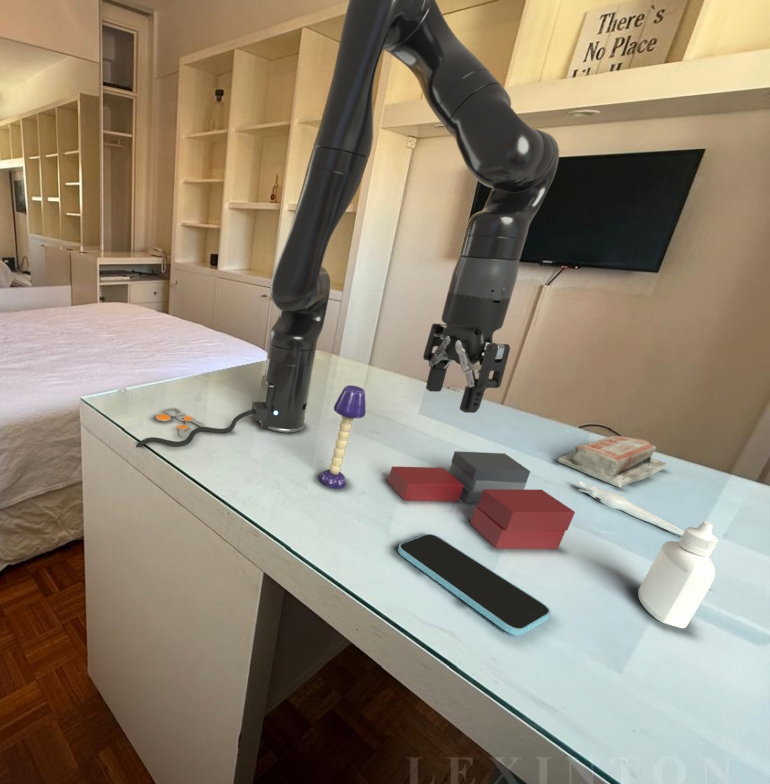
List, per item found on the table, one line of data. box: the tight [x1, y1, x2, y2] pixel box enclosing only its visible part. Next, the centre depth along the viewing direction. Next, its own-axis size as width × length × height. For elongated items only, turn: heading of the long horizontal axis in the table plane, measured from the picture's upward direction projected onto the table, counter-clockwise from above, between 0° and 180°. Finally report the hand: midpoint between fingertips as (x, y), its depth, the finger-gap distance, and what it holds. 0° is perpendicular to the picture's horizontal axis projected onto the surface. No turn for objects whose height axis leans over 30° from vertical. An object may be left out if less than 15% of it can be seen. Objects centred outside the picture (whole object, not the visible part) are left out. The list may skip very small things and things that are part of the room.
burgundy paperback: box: [387, 465, 464, 502], centre depth 73 cm, size 9×5×3 cm, turn 93°
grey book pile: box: [448, 450, 531, 504], centre depth 73 cm, size 9×6×6 cm
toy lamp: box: [318, 384, 366, 490], centre depth 72 cm, size 5×5×17 cm
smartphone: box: [397, 533, 552, 636], centre depth 54 cm, size 7×1×15 cm
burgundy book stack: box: [469, 489, 576, 550], centre depth 63 cm, size 9×6×6 cm, turn 93°
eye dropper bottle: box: [637, 520, 720, 629], centre depth 50 cm, size 4×6×12 cm
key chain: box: [155, 407, 203, 437], centre depth 93 cm, size 13×7×1 cm, turn 30°
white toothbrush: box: [577, 480, 685, 536], centre depth 71 cm, size 15×3×2 cm, turn 22°
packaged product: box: [557, 435, 668, 488], centre depth 85 cm, size 18×5×10 cm
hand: (449, 400), depth 68 cm, fingers open, 8 cm apart
